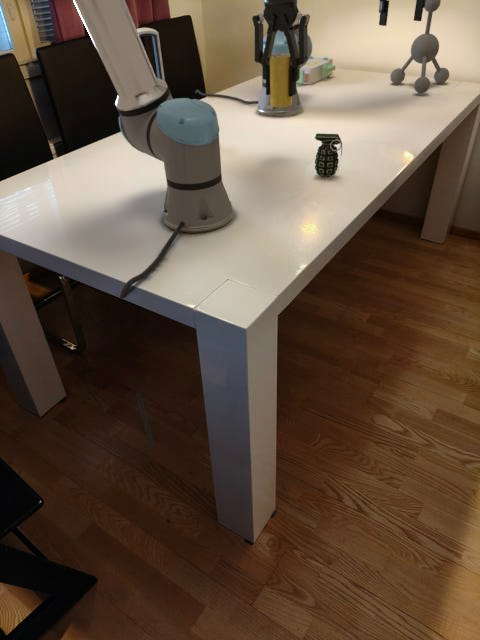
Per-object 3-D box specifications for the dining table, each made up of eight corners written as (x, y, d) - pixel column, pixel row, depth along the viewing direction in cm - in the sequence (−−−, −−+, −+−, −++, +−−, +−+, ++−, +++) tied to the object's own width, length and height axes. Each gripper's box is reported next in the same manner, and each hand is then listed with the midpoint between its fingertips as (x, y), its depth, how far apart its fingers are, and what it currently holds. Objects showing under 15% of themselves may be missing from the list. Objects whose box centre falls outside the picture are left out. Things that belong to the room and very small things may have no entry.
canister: (287, 108, 121) (287, 58, 114) (267, 106, 123) (266, 57, 116) (294, 102, 125) (295, 53, 118) (274, 101, 127) (274, 53, 120)
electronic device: (141, 147, 146) (122, 33, 128) (139, 140, 152) (119, 29, 134) (182, 142, 149) (168, 28, 130) (178, 135, 154) (164, 25, 136)
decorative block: (301, 54, 217) (341, 57, 207) (300, 70, 221) (340, 74, 211) (269, 65, 201) (312, 69, 191) (269, 82, 205) (311, 87, 195)
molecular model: (468, 88, 182) (489, -8, 163) (419, 97, 176) (435, -2, 158) (427, 77, 199) (442, -12, 181) (381, 84, 193) (392, -7, 175)
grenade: (312, 179, 121) (313, 138, 114) (314, 171, 125) (316, 131, 119) (338, 181, 119) (342, 139, 113) (340, 172, 124) (344, 132, 117)
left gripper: (325, -21, 107) (321, 92, 122) (250, -18, 114) (254, 88, 129) (314, -17, 102) (310, 100, 116) (235, -15, 109) (241, 95, 124)
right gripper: (384, -61, 133) (375, 28, 146) (454, -66, 141) (439, 19, 154) (367, -61, 139) (360, 26, 152) (436, -65, 146) (423, 17, 159)
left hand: (280, 94), depth 123 cm, fingers closed on canister, 5 cm apart
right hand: (400, 23), depth 153 cm, fingers open, 13 cm apart
